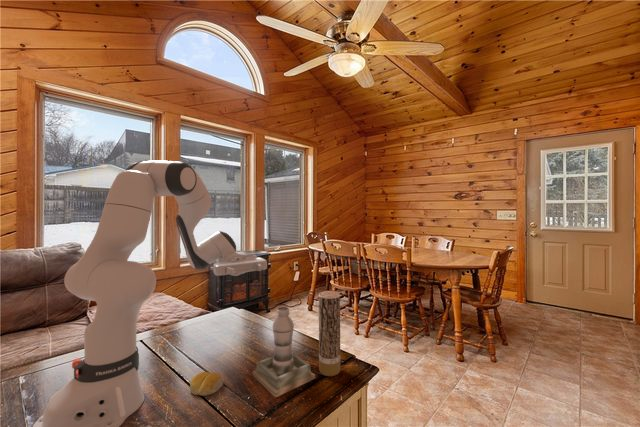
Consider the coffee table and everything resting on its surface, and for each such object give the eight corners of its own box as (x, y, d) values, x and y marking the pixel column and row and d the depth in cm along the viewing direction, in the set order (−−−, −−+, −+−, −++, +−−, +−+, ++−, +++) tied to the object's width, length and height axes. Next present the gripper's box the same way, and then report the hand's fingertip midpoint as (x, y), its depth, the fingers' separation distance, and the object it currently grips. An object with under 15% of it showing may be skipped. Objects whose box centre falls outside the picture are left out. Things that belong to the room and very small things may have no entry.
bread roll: (202, 378, 90) (201, 365, 90) (227, 382, 87) (227, 369, 87) (182, 394, 82) (182, 380, 82) (209, 399, 79) (209, 385, 79)
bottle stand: (275, 397, 80) (275, 382, 80) (252, 375, 91) (252, 362, 91) (315, 378, 89) (315, 364, 89) (289, 360, 100) (289, 348, 100)
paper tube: (340, 366, 96) (340, 291, 95) (340, 378, 89) (339, 297, 89) (320, 365, 96) (319, 290, 96) (318, 377, 90) (317, 296, 89)
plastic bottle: (270, 369, 92) (270, 306, 92) (291, 365, 94) (291, 304, 94) (274, 380, 86) (273, 313, 85) (296, 376, 88) (296, 310, 88)
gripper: (208, 259, 111) (218, 264, 100) (258, 254, 123) (272, 258, 111) (208, 275, 111) (218, 282, 100) (258, 269, 123) (273, 275, 111)
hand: (247, 270), depth 106 cm, fingers open, 8 cm apart
